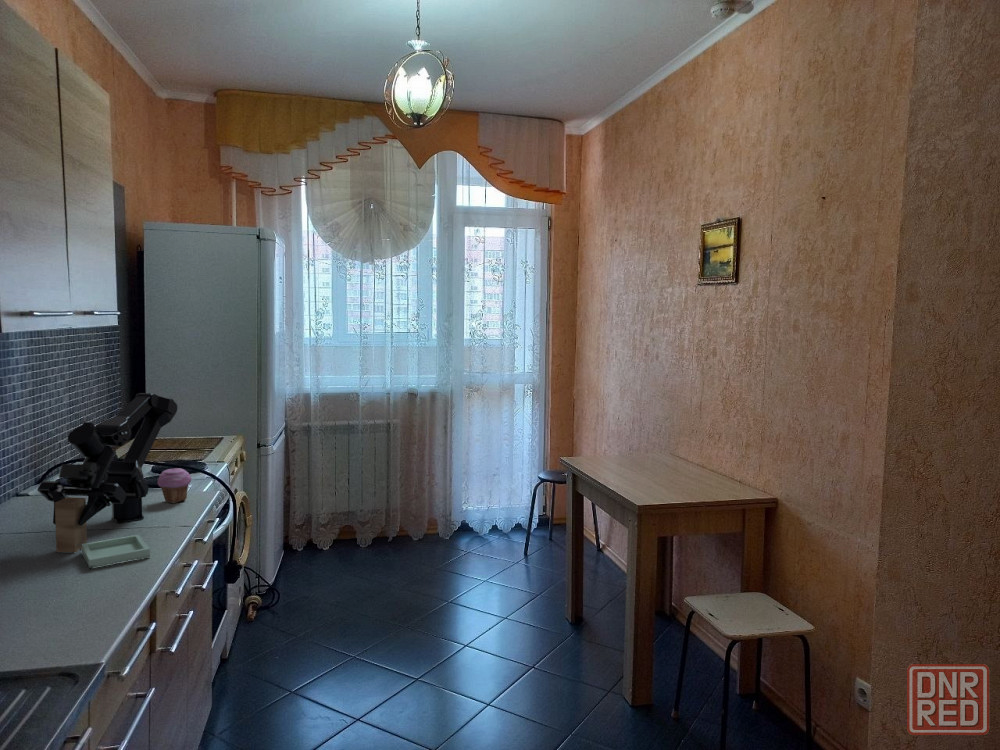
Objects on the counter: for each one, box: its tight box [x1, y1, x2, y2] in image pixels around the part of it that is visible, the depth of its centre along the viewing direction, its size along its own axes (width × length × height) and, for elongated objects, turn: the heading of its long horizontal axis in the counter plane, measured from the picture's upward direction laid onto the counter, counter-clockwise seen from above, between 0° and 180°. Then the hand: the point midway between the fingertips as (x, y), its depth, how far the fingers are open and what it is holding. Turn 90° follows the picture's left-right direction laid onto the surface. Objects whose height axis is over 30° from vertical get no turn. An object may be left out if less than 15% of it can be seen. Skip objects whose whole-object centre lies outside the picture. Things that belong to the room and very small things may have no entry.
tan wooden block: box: [55, 497, 88, 553], centre depth 157 cm, size 4×4×12 cm
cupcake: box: [157, 467, 192, 504], centre depth 197 cm, size 9×9×10 cm
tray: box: [81, 534, 151, 569], centre depth 154 cm, size 12×12×2 cm
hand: (67, 524), depth 156 cm, fingers open, 6 cm apart
